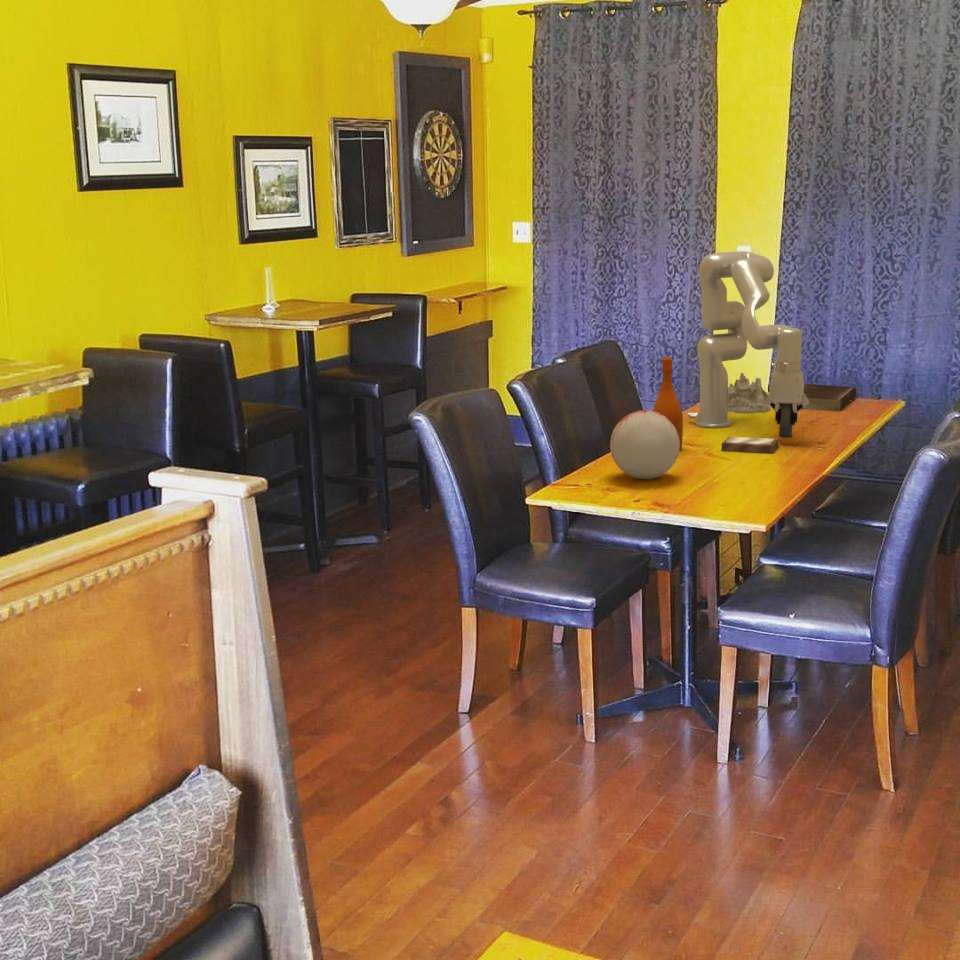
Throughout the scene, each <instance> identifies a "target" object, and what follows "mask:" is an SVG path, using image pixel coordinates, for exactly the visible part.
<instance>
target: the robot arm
mask: <svg viewBox="0 0 960 960" xmlns="http://www.w3.org/2000/svg"><path fill="white" fill-rule="evenodd" d="M774 272H775V269H774V264H773V263H772V261H771V260H770V259H769V258H767V257H766V256H764V255H760V254H758V253H753V252H750V251H743V250H742V251H741V250H740V251H725V252H723V251H722V252H714V253H710V254H708V255H705V256H704V257H703V258H702V259H701V260H700V264H699V267H698V277H699V278H698V279H699V283H700V287H701V322H702V326H703V328H704V329H705V330H708V331H723V330H724V331H725V330H727V332H726V333H714V334H713V333H712V334H708V335H705V336H703V337H701V338H700V340H699V341H698V343H697V350H696V351H697V356H698V361H699V411H697V412H694V411H693V412H692V411H688V413H687V418H689V419H696V420H695V425H696V426H697V427H701V428H711V429H713V428H715V429H717V428H727V427H730V426H733V421H732V420H731V419H728V413H729V412H728V387H729V374H728V371H727V369H726V367H725V365H724V364H723V362H727V361H737V360H741V359H742V358H744V357H745V355H746V353H747V349H748V344H749V345H750V346H751V348H753V349H754V350H758V351H759V350H760V351H761V350H770V349H773V350H774V349H776V357H775V358H776V361H774V362H771V368H774V369H775V370H773V372H772V375H771V379H770V380H771V382H770V390H769V392H770V393H769V394H767V395H768V397H767V398H766V399H765V402H766V403H767V404H769V406H770V408H772V409H773V411H774V413H775V414H774V415H775V417H774V420H775V422H776V425H780V403H785V404H792V405H793V413H792V420H791V425H792V426H794V425H795V424H796V423H797V422H798V412H799V411H800V410H802V409H801V408H803V407H804V406H806V405H808V404H809V401H808V399H807V397H806V396H805V394H804V386H805V382H804V373H803V371H801V367H802V366H801V364H802V362H801V361H802V341H803V339H802V336H803V335H802V334H803V333H802V330H801V329H800V328H796V327H791V326H790V325H789V326H788V325H787V324H781V323H780V324H769V325H768V324H766V325H760V324H759V323H758V320H757V317H756V315H755V311H757V310H759V309H760V308H762V307H763V306H764V305H766V303H768V302H769V299H770V297H771V295H770V292H769V290H768V288H767V286H766V284H765V283H768V282H769V281H771V280H772V279H773V278H774V274H775V273H774ZM725 278H726V279H727V278H732V280H733V282H734V285H735V287H736V288H737V292H738V293H739V295H740V297H741V298H740V299H741V300H742V302H743V303H742V302H740V301H737V300H732V301H730V300H728V290H727V289H728V288H727V286H726V284H725V283H724V281H723V280H722V279H725ZM802 400H803V403H801V402H802ZM799 403H801V404H800V405H799V406H798V404H799Z"/></svg>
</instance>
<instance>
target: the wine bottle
mask: <svg viewBox="0 0 960 960" xmlns="http://www.w3.org/2000/svg"><path fill="white" fill-rule="evenodd" d="M661 365H662V367H661V371H662V381H661V387H659V390H658V395H657V398H656V399H655V402H654V405H653V408H652V411H654V412H657V413H660V414H662V415H663V416H665V417H666V418H668V419H669V420H670V421H671V422H672V424H673V425H674V427H675V428H676V430H677V432H678V435H679V441H680V449H679V451H680V450H682V447H683V434H684V431H683V426H684V421H683V419H684V418H683V417H684V416H683V410H682V406H681V404H680V401H679V398H678V396H677V394H676V392H675V389H674V386H673V379H672V375H673V374H672V372H673V358H672V357H671V356H663V357H662V359H661Z"/></svg>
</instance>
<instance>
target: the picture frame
mask: <svg viewBox="0 0 960 960" xmlns="http://www.w3.org/2000/svg"><path fill="white" fill-rule="evenodd" d="M778 448H779V439H777V438H776V439H775V438H767V437H766V438H763V437H762V438H761V437H747V436H745V437H744V436H743V437H741V436H728V437H727V438H726V439H725V440H724V441H722V443H721V452H731V451H732V452H735V453H749V452H751V454H752V452H753V454H771V455H772V454H774V453H775V452H776V450H777V449H778Z"/></svg>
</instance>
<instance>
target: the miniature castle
mask: <svg viewBox="0 0 960 960" xmlns="http://www.w3.org/2000/svg"><path fill="white" fill-rule="evenodd" d="M768 395H769V394H768V393H767V392H766V390H764V388H763V387H762V379H761V378H760V377H756V378H755V381H752V382H751V384H750V379H749V378H747V376H746V375H745V373H743V372H740V375H739V379H735V382H734V384H733V383H728V411H729V412H728V413H732V412H734V413H733V414H757V413H758V414H759V413H768V412H771V411H770V410H771V406H770V405H769V404H767V403H766V402H765V399H766V398H767V397H768Z"/></svg>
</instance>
